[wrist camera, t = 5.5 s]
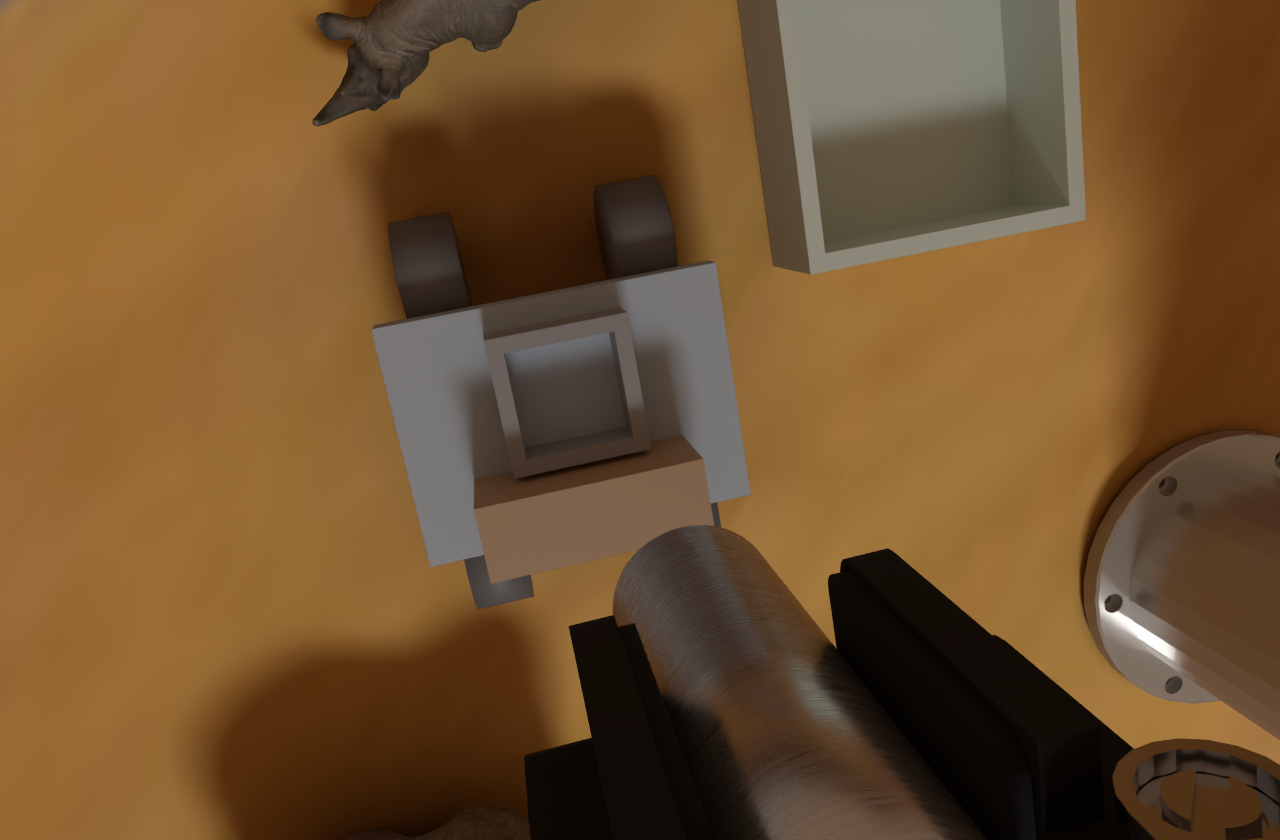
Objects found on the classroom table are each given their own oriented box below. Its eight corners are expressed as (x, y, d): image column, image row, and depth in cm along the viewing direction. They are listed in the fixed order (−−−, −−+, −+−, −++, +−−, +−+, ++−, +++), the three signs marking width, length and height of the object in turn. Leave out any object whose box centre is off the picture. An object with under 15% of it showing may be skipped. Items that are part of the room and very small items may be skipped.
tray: (993, -186, 33) (1064, -239, 29) (1020, 217, 37) (1086, 219, 33) (717, -148, 32) (751, -197, 28) (773, 266, 35) (810, 274, 31)
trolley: (669, 171, 34) (726, 163, 26) (726, 526, 37) (790, 610, 30) (365, 226, 33) (331, 235, 25) (454, 588, 36) (448, 693, 28)
